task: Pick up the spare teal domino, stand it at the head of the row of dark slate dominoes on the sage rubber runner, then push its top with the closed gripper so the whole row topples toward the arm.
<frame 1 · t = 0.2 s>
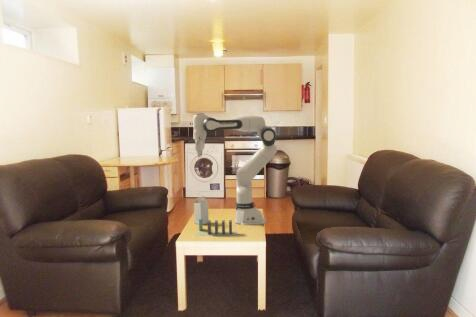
hand: (200, 156, 241), 47 cm above the table, fingers open, 8 cm apart
runner mat: (216, 234, 219), on the table
domino 4: (230, 233, 219), resting on runner mat
domino 2: (216, 233, 219), resting on runner mat
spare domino: (200, 230, 227), on the table
domino 3: (223, 233, 219), resting on runner mat
milk carton: (201, 223, 243), on the table
domino 1: (209, 233, 219), resting on runner mat
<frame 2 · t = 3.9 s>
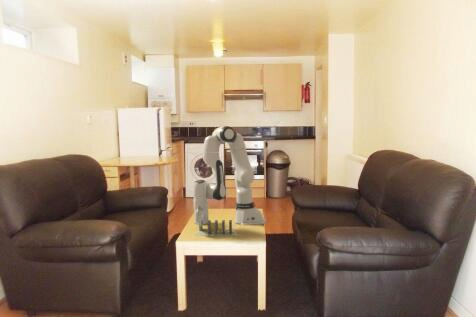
hand: (200, 225, 227), 3 cm above the table, fingers closed on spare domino, 4 cm apart
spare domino: (200, 230, 227), on the table, touching gripper
everything else where it was.
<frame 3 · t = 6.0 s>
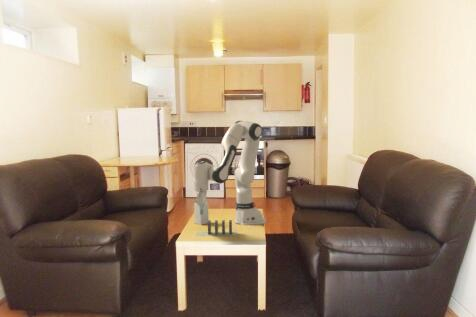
hand: (201, 208, 217), 17 cm above the table, fingers closed on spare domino, 4 cm apart
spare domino: (201, 213, 218), point 13 cm above the table, touching gripper
everything else where it was.
when the fingers open (4 cm above the table, at t = 8.6 s): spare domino stays where it is, resting on runner mat.
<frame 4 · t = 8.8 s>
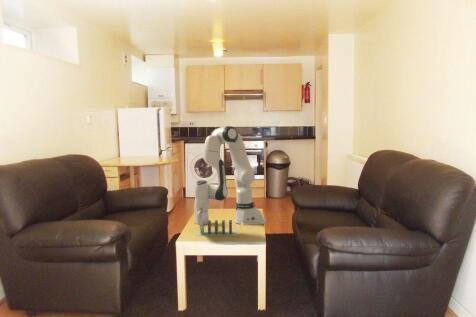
hand: (202, 227, 219), 4 cm above the table, fingers open, 7 cm apart
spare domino: (202, 233, 219), resting on runner mat
everything else where it was.
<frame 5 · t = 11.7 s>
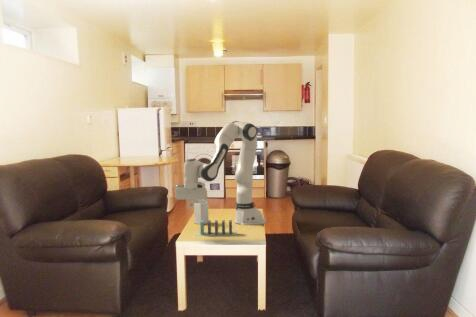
hand: (191, 206, 217), 18 cm above the table, fingers closed
nothing on the table moved.
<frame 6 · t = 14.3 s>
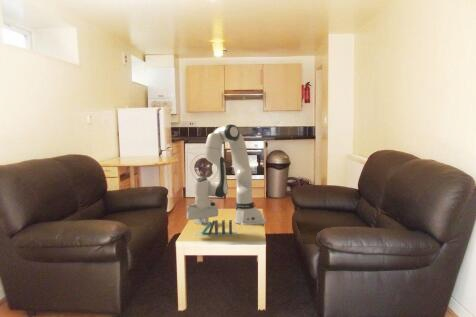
hand: (202, 224, 219), 6 cm above the table, fingers closed
domino 2: (216, 233, 219), resting on runner mat, touching domino 1
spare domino: (202, 232, 219), point 1 cm above the table, tilted 40°
domino 1: (209, 233, 219), point 1 cm above the table, tilted 21°, touching domino 2, runner mat
everything else where it was.
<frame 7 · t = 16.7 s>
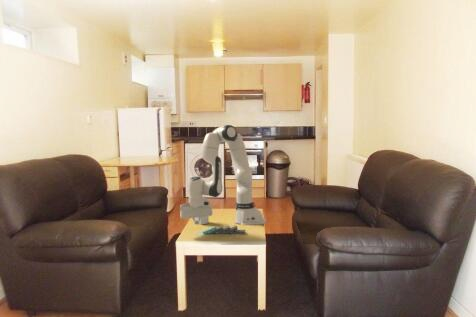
hand: (196, 223, 219), 7 cm above the table, fingers closed
domino 4: (232, 232, 219), point 1 cm above the table, tilted 90°, touching domino 3, runner mat
domino 2: (218, 232, 219), point 1 cm above the table, tilted 69°, touching domino 1, domino 3, runner mat
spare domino: (203, 232, 219), point 1 cm above the table, tilted 70°, touching domino 1, runner mat
domino 3: (225, 232, 219), point 1 cm above the table, tilted 68°, touching domino 2, domino 4, runner mat
domino 1: (210, 232, 219), point 1 cm above the table, tilted 70°, touching domino 2, runner mat, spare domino
everything else where it was.
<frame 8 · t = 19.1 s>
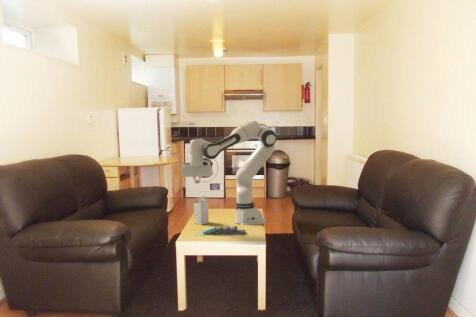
hand: (197, 183, 227), 31 cm above the table, fingers closed
nothing on the table moved.
at the end: domino 4 tilted 90°; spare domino tilted 70°; the gripper is holding nothing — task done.
